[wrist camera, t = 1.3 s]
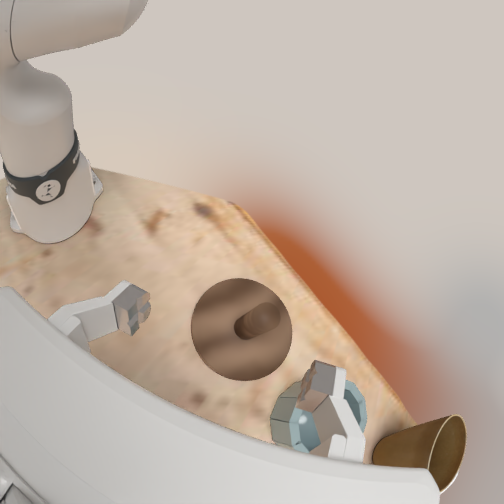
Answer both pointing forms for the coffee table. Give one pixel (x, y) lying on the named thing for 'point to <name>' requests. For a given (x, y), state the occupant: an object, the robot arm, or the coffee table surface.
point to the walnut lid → (241, 329)
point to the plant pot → (427, 448)
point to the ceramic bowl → (307, 418)
